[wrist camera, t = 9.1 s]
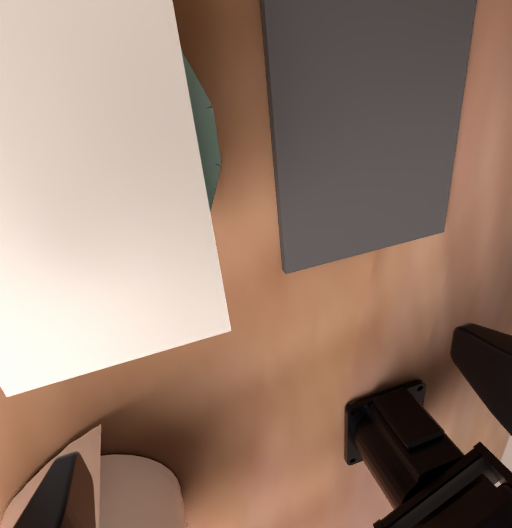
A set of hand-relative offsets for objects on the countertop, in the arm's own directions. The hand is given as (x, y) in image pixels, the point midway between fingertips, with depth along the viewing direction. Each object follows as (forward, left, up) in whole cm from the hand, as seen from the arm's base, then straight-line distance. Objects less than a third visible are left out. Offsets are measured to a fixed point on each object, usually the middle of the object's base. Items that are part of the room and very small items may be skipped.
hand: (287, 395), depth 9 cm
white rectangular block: (+5, +4, -7) cm, 9 cm away
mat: (+4, -9, -12) cm, 15 cm away
